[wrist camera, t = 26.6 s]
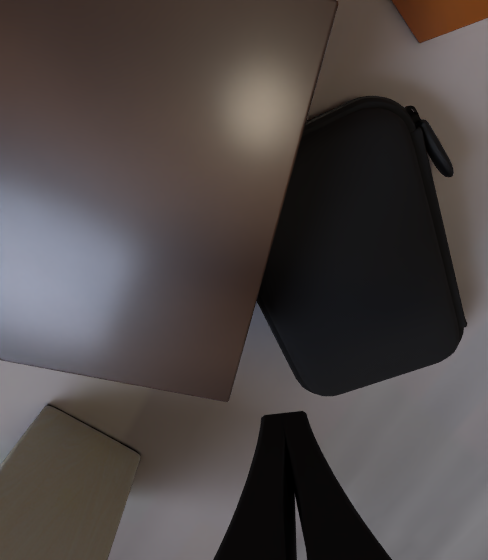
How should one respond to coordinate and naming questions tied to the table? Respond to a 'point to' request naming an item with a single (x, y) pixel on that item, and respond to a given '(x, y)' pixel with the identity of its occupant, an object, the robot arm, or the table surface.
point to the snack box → (440, 15)
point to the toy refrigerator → (63, 491)
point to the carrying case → (362, 252)
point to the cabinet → (146, 179)
